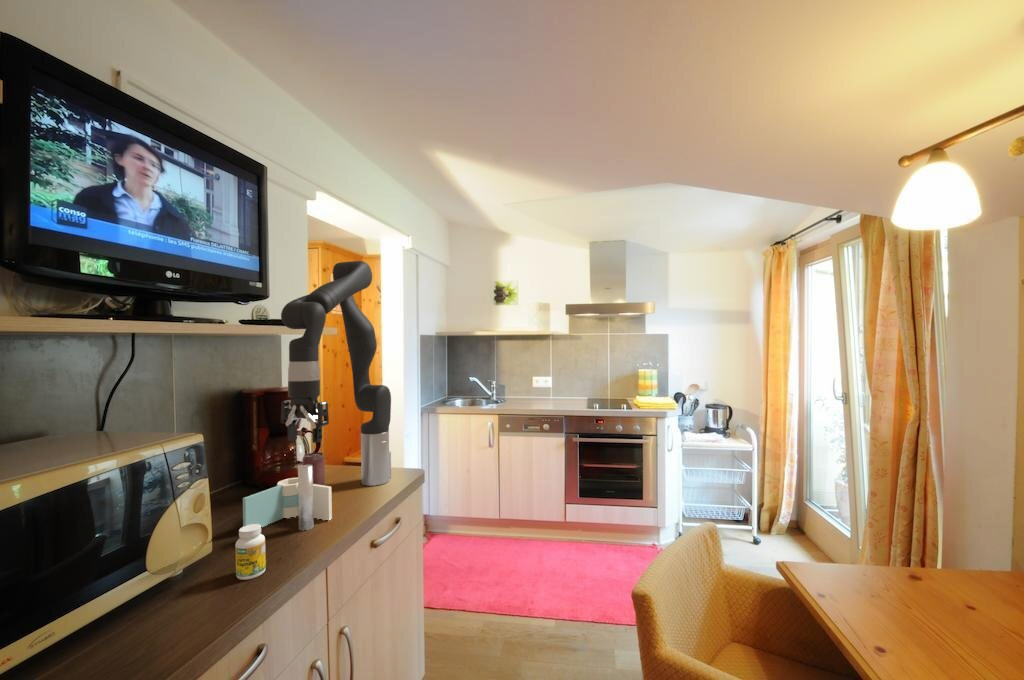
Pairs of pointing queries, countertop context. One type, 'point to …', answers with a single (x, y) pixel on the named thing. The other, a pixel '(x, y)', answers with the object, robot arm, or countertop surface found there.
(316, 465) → the can
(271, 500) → the leaf
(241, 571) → the supplement bottle
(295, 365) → the robot arm
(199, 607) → the countertop surface
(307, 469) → the hinge pin
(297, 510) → the white hinge leaf
